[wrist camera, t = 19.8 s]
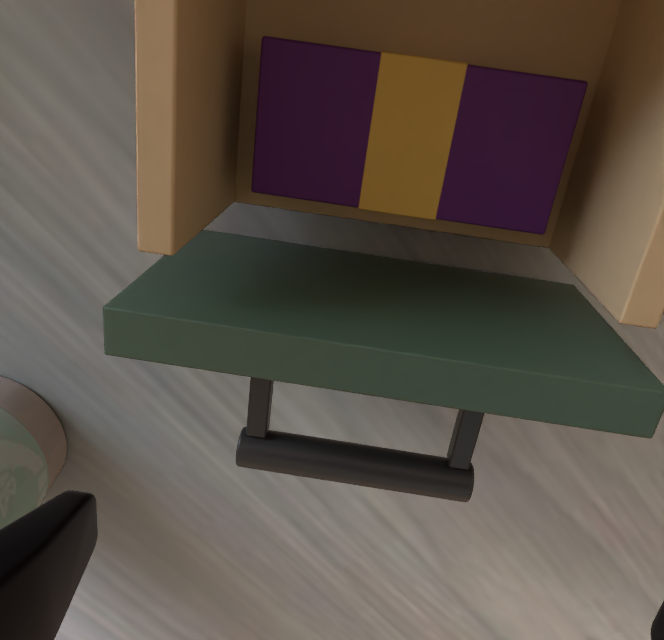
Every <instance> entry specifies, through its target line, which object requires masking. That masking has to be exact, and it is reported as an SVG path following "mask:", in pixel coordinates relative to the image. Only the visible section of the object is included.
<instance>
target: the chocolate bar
mask: <svg viewBox="0 0 664 640" xmlns="http://www.w3.org/2000/svg"><path fill="white" fill-rule="evenodd" d="M587 86H588V82H586V81H583V80H576V79H569V78H561V77H554V76H547V75H540V74H533V73H526V72H519V71H512V70H504V69H497V68H490V67H483V66H476V65H469V64H467V63H466V62H458V61H451V60H444V59H437V58H430V57H423V56H416V55H409V54H401V53H394V52H387V51H382V52H376V51H369V50H362V49H355V48H348V47H341V46H334V45H326V44H319V43H312V42H305V41H298V40H291V39H284V38H277V37H270V36H263V37H262V40H261V55H260V69H259V83H258V97H257V112H256V126H255V140H254V155H253V169H252V183H251V190H252V192H254V193H261V194H268V195H275V196H282V197H288V198H295V199H302V200H309V201H316V202H322V203H329V204H336V205H343V206H350V207H356V208H358V209H360V210H367V211H373V212H380V213H387V214H394V215H401V216H407V217H414V218H421V219H428V220H435V219H438V220H445V221H452V222H459V223H465V224H472V225H479V226H486V227H493V228H499V229H506V230H513V231H520V232H527V233H533V234H540V235H542V234H544V233H545V231H546V228H547V224H548V221H549V217H550V214H551V210H552V207H553V203H554V200H555V196H556V193H557V190H558V186H559V183H560V179H561V176H562V172H563V169H564V165H565V162H566V159H567V155H568V152H569V148H570V145H571V141H572V138H573V134H574V131H575V128H576V124H577V121H578V117H579V114H580V110H581V107H582V103H583V100H584V96H585V93H586V90H587Z"/></svg>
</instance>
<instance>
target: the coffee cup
mask: <svg viewBox="0 0 664 640" xmlns="http://www.w3.org/2000/svg"><path fill="white" fill-rule="evenodd" d="M66 455H67V443H66V437H65V434H64V430H63V428H62V426H61V423H60V422H59V420H58V418H57V417H56V415H55V414H54V412H53V411H52V409H51V408H50V407H49V406H48V405H47V404H46V403H45V402H44V401H43V400H42V399H41V398H40V397H39V396H38V395H36V394H35V393H34V392H32V391H31V390H29V389H28V388H26V387H25V386H23V385H21V384H19V383H17V382H15V381H12V380H10V379H7V378H4V377H1V376H0V529H2V528H3V527H5V526H7V525H9V524H10V523H12V522H14V521H15V520H17V519H19V518H20V517H22V516H24V515H26V514H27V513H29V512H31V511H32V510H34V509H36V508H38V507H39V506H40V505H41V503H42V501H43V499H44V498H45V496H46V494H47V493H48V491H49V489H50V488H51V486H52V484H53V482H54V481H55V479H56V477H57V476H58V474H59V472H60V471H61V469H62V467H63V465H64V463H65V460H66Z"/></svg>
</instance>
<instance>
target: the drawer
mask: <svg viewBox="0 0 664 640" xmlns="http://www.w3.org/2000/svg"><path fill="white" fill-rule="evenodd" d="M263 36H270V37H277V38H284V39H291V40H298V41H305V42H312V43H319V44H326V45H334V46H341V47H348V48H355V49H362V50H369V51H376V52H382V51H387V52H394V53H401V54H409V55H416V56H423V57H430V58H437V59H444V60H451V61H458V62H466V63H467V64H469V65H476V66H483V67H490V68H497V69H504V70H512V71H519V72H526V73H533V74H540V75H547V76H554V77H561V78H569V79H576V80H583V81H586V82H588V86H587V90H586V93H585V96H584V100H583V103H582V107H581V110H580V114H579V117H578V121H577V124H576V128H575V131H574V134H573V138H572V141H571V145H570V148H569V152H568V155H567V159H566V162H565V165H564V169H563V172H562V176H561V179H560V183H559V186H558V190H557V193H556V196H555V200H554V203H553V207H552V210H551V214H550V217H549V221H548V224H547V228H546V231H545V233H544V234H542V235H540V234H533V233H527V232H520V231H513V230H506V229H499V228H493V227H486V226H479V225H472V224H465V223H459V222H452V221H445V220H438V219H435V220H428V219H421V218H414V217H407V216H401V215H394V214H387V213H380V212H373V211H367V210H360V209H358V208H356V207H350V206H343V205H336V204H329V203H322V202H316V201H309V200H302V199H295V198H288V197H282V196H275V195H268V194H261V193H254V192H252V190H251V183H252V169H253V155H254V140H255V126H256V112H257V97H258V83H259V69H260V55H261V40H262V37H263ZM135 78H136V158H137V239H138V250H139V251H142V252H149V253H156V254H162V255H164V256H163V257H162V258H161V259H160V260H158V261H157V262H156V263H155V264H154V265H152V266H151V267H150V268H149V269H148V270H147V271H145V272H144V273H143V274H142V275H141V276H139V277H138V278H137V279H136V280H135V281H133V282H132V283H131V284H130V285H129V286H128V287H126V288H125V289H124V290H123V291H122V292H120V293H119V294H118V295H117V296H116V297H114V298H113V299H112V300H111V301H110V302H109V303H107V304H106V305H105V306H104V307H103V324H104V349H105V354H106V355H112V356H118V357H125V358H131V359H138V360H144V361H151V362H157V363H164V364H170V365H177V366H183V367H190V368H196V369H203V370H209V371H215V372H222V373H228V374H235V375H241V376H248V377H251V380H250V393H249V405H248V417H247V426H246V427H243V429H242V431H241V433H240V436H239V440H238V445H237V451H236V465H237V466H239V467H245V468H252V469H258V470H264V471H271V472H277V473H283V474H290V475H296V476H302V477H309V478H315V479H321V480H328V481H334V482H340V483H347V484H353V485H359V486H366V487H372V488H378V489H385V490H391V491H397V492H404V493H410V494H416V495H423V496H429V497H435V498H442V499H448V500H454V501H461V502H468V501H469V500H470V498H471V495H472V492H473V486H474V468H473V465H472V463H471V459H472V455H473V452H474V448H475V445H476V441H477V438H478V434H479V431H480V427H481V424H482V420H483V416H484V413H488V414H494V415H501V416H507V417H514V418H520V419H527V420H533V421H540V422H546V423H553V424H559V425H566V426H572V427H579V428H585V429H592V430H598V431H604V432H611V433H617V434H624V435H630V436H637V437H643V438H652V437H653V434H654V432H655V430H656V428H657V425H658V423H659V421H660V418H661V416H662V414H663V411H664V385H663V384H662V383H661V382H660V381H659V380H658V379H657V377H656V376H655V375H654V374H653V373H652V372H651V371H650V370H649V369H648V367H647V366H646V365H645V364H644V363H643V362H642V361H641V360H640V358H639V357H638V356H637V355H636V354H635V353H634V352H633V351H632V350H631V348H630V347H629V346H628V345H627V344H626V343H625V342H624V341H623V339H622V338H621V337H620V336H619V335H618V334H617V333H616V332H615V331H614V329H613V328H612V327H611V326H610V325H609V324H608V323H607V322H606V320H605V319H604V318H603V317H602V316H601V315H600V314H599V313H598V312H597V310H596V309H595V308H594V307H593V306H592V305H591V304H590V303H589V301H588V300H587V299H586V298H585V297H584V296H583V295H582V294H581V292H580V291H579V290H578V289H577V288H576V287H575V286H574V285H572V284H565V283H558V282H552V281H545V280H538V279H531V278H525V277H518V276H511V275H505V274H498V273H491V272H484V271H478V270H471V269H464V268H457V267H451V266H444V265H437V264H430V263H424V262H417V261H410V260H404V259H397V258H390V257H383V256H377V255H370V254H363V253H356V252H350V251H343V250H336V249H329V248H323V247H316V246H309V245H303V244H296V243H289V242H282V241H276V240H269V239H262V238H255V237H249V236H242V235H235V234H228V233H222V232H215V231H208V230H203V229H204V228H205V227H206V226H207V225H208V224H210V223H211V222H212V221H213V220H214V219H215V218H216V217H218V216H219V215H220V214H221V213H222V212H223V211H224V210H225V209H227V208H228V207H229V206H230V205H231V204H232V203H233V202H240V203H246V204H253V205H260V206H267V207H273V208H280V209H287V210H294V211H301V212H307V213H314V214H321V215H328V216H335V217H341V218H348V219H355V220H362V221H369V222H375V223H382V224H389V225H396V226H403V227H409V228H416V229H423V230H430V231H437V232H443V233H450V234H457V235H464V236H471V237H477V238H484V239H491V240H498V241H505V242H511V243H518V244H525V245H532V246H538V247H545V248H550V250H551V251H552V252H553V253H554V254H555V255H556V256H557V257H558V258H559V259H560V260H561V261H562V263H563V264H564V265H565V266H566V267H567V268H568V269H569V270H570V271H571V272H572V273H573V274H574V275H575V276H576V277H577V278H578V280H579V281H580V282H581V283H582V284H583V285H584V286H585V287H586V288H587V289H588V290H589V291H590V292H591V293H592V294H593V295H594V297H595V298H596V299H597V300H598V301H599V302H600V303H601V304H602V305H603V306H604V307H605V308H606V309H607V310H608V311H609V313H610V314H611V315H612V316H613V317H614V318H615V319H616V320H617V321H618V322H619V323H621V324H627V325H634V326H640V327H647V328H654V329H655V328H657V327H658V324H659V322H660V319H661V317H662V314H663V312H664V0H135ZM274 381H280V382H287V383H293V384H300V385H306V386H313V387H319V388H326V389H332V390H339V391H345V392H352V393H358V394H365V395H371V396H378V397H384V398H391V399H397V400H404V401H410V402H416V403H423V404H429V405H436V406H442V407H449V408H455V409H459V411H458V415H457V418H456V422H455V426H454V430H453V434H452V438H451V442H450V445H449V449H448V453H447V458H445V457H439V456H433V455H426V454H420V453H413V452H407V451H401V450H394V449H388V448H381V447H375V446H369V445H362V444H356V443H349V442H343V441H337V440H330V439H324V438H317V437H311V436H305V435H298V434H292V433H285V432H279V431H273V430H268V429H269V424H270V414H271V404H272V394H273V384H274Z"/></svg>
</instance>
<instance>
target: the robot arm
mask: <svg viewBox="0 0 664 640" xmlns="http://www.w3.org/2000/svg"><path fill="white" fill-rule="evenodd" d="M97 535H98V528H97V508H96V499H95V496H94V495H93V494H91V493H86V492H80V491H74V490H68V491H65V492H63V493H61V494H60V495H58V496H56V497H55V498H53V499H51V500H49V501H48V502H46V503H44V504H43V505H41V506H39V507H38V508H36V509H34V510H32V511H31V512H29V513H27V514H26V515H24V516H22V517H20V518H19V519H17V520H15V521H14V522H12V523H10V524H9V525H7V526H5V527H3V528H2V529H0V640H54V638H55V636H56V634H57V632H58V630H59V628H60V625H61V623H62V621H63V619H64V616H65V614H66V612H67V610H68V607H69V605H70V603H71V600H72V598H73V596H74V594H75V591H76V589H77V587H78V584H79V582H80V580H81V578H82V575H83V573H84V571H85V569H86V566H87V564H88V562H89V559H90V557H91V555H92V553H93V550H94V548H95V545H96V541H97ZM651 640H664V601H663V603H662V605H661V607H660V609H659V611H658V613H657V615H656V617H655V619H654V621H653V623H652V627H651Z"/></svg>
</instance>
